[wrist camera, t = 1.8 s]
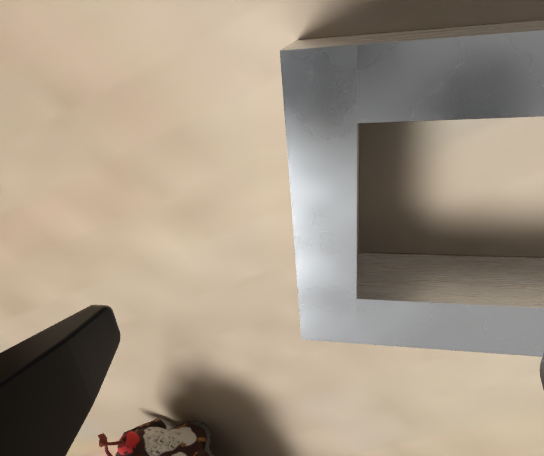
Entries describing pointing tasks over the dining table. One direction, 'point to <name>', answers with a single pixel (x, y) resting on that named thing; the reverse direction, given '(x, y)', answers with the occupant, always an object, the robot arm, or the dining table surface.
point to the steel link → (345, 186)
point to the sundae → (162, 440)
